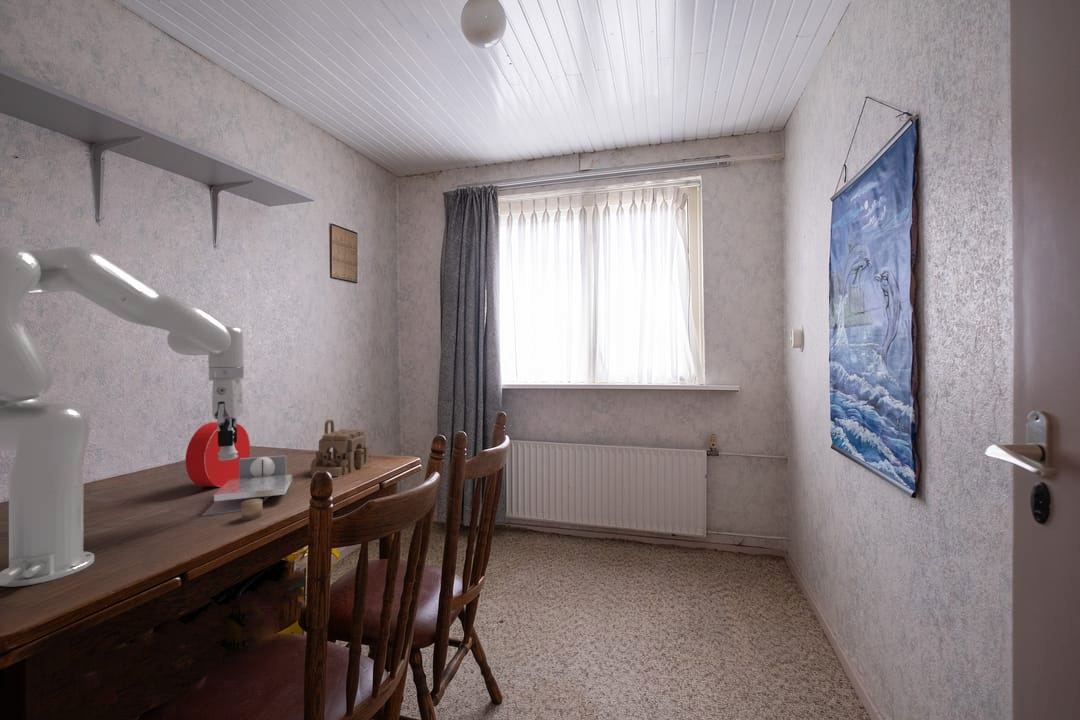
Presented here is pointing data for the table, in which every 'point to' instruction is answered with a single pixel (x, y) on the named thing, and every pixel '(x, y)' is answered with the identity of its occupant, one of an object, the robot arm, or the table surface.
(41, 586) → the table surface
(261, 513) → the tan cylinder
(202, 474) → the red thick disc
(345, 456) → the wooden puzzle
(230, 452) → the rook chess piece
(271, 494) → the pan
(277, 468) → the scale base
